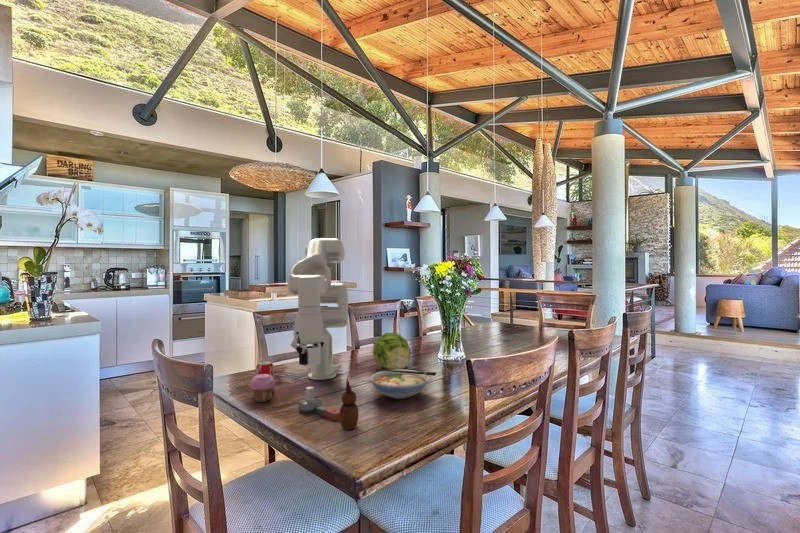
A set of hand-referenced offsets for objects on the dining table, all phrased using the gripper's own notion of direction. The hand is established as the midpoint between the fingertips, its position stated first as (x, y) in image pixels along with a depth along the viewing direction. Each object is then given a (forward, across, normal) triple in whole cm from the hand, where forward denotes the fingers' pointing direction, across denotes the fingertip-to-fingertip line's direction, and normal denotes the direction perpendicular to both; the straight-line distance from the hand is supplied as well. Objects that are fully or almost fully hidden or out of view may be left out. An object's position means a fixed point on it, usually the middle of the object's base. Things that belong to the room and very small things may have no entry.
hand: (309, 362), depth 144 cm
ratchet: (+17, 0, +5) cm, 18 cm away
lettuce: (+16, -59, -12) cm, 63 cm away
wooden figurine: (+17, +2, +22) cm, 28 cm away
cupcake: (+17, +5, -22) cm, 28 cm away
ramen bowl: (+17, -31, +15) cm, 38 cm away
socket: (+1, 0, 0) cm, 1 cm away
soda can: (+17, -1, -30) cm, 35 cm away
